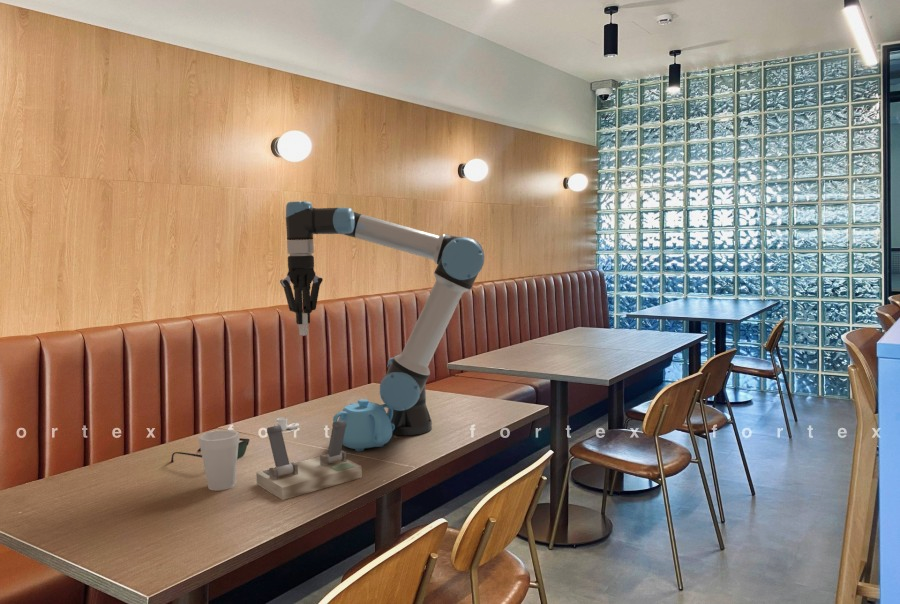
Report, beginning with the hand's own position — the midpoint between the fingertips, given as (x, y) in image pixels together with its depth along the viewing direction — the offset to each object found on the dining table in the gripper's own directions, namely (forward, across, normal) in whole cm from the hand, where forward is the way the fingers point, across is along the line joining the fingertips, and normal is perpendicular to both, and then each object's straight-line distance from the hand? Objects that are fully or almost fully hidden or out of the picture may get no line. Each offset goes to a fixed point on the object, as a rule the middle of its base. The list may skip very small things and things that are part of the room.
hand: (303, 334), depth 206 cm
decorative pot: (+33, -11, +14) cm, 37 cm away
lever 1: (+29, +23, +31) cm, 48 cm away
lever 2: (+29, +9, +30) cm, 42 cm away
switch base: (+32, +16, +30) cm, 47 cm away
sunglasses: (+33, +29, -5) cm, 44 cm away
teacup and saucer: (+33, -1, -14) cm, 36 cm away
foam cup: (+33, +34, +18) cm, 50 cm away
